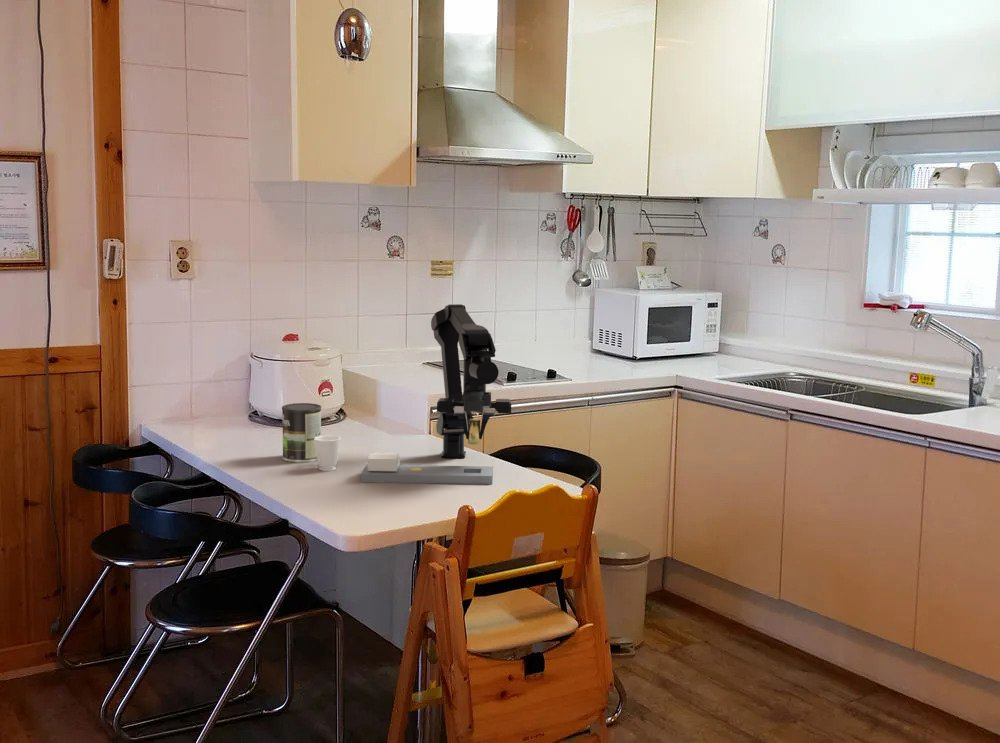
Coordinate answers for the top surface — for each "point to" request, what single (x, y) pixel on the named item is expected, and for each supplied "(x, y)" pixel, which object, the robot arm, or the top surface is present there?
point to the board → (431, 474)
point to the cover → (383, 462)
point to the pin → (473, 431)
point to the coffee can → (300, 431)
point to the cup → (327, 451)
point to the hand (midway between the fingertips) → (474, 439)
